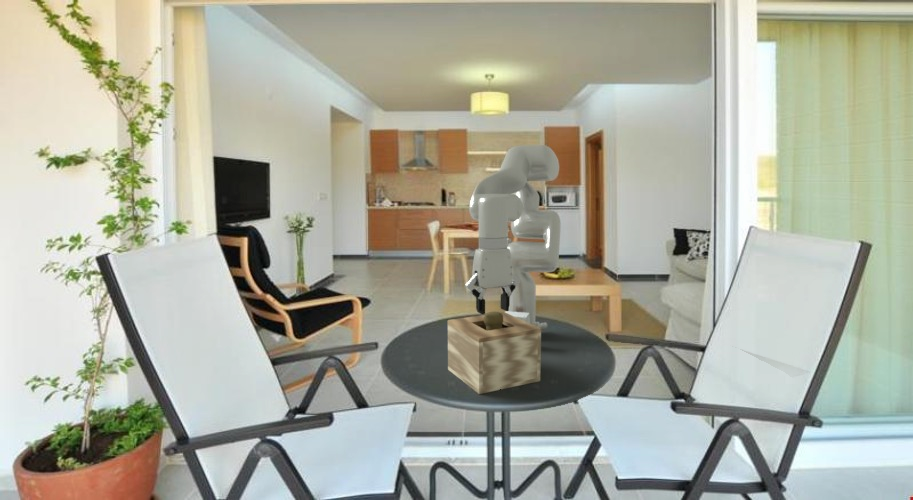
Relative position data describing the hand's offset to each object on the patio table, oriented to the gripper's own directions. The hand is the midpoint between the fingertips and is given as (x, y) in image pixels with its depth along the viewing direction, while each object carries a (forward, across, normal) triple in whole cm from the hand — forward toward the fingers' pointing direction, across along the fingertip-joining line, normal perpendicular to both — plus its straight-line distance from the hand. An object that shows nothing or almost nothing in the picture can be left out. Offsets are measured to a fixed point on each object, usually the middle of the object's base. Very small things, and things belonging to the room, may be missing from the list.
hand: (493, 310), depth 133 cm
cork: (+12, -1, 0) cm, 12 cm away
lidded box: (+18, 0, 0) cm, 18 cm away
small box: (+18, -18, -17) cm, 30 cm away
